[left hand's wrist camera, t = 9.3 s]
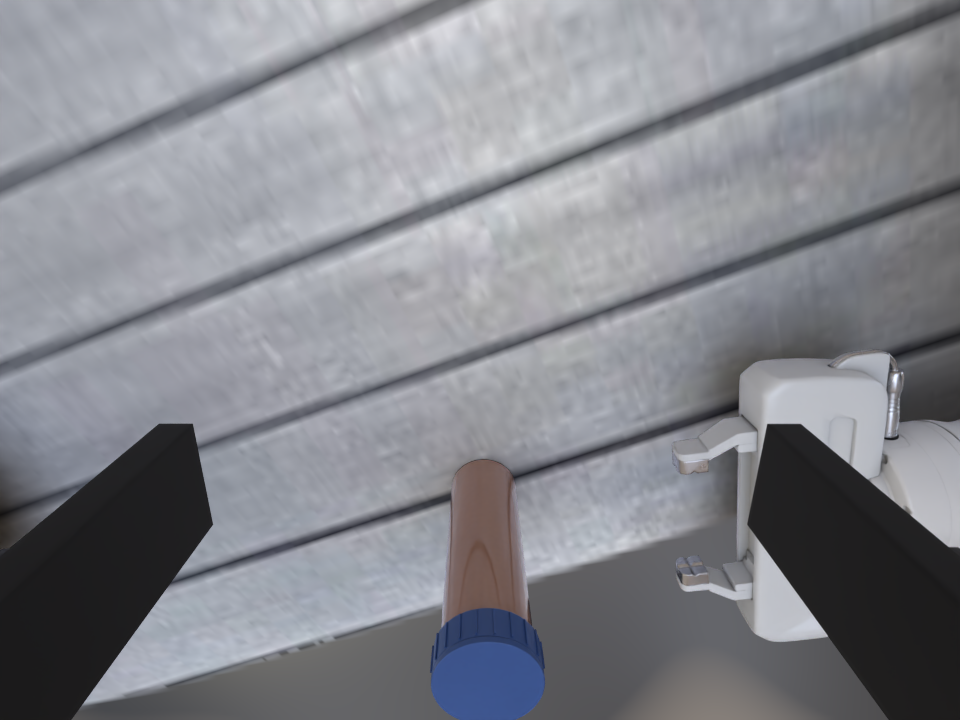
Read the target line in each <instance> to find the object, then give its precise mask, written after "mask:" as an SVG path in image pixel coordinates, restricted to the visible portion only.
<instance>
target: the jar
mask: <svg viewBox="0 0 960 720" xmlns="http://www.w3.org/2000/svg"><path fill="white" fill-rule="evenodd" d="M479 608H496V609H502V610H506V611H509V612H512V613H515V614H517V615H519V616H520V617H522V618H523V619H526V621H527V622H528V623H529V624H530V625H531V626H532V621H531V613H530V605H529V596H528V588H527V579H526V571H525V562H524V554H523V545H522V537H521V529H520V520H519V512H518V503H517V495H516V486H515V481H514V478H513V476H512V474H511V472H510V471H509V470H508V469H507V468H506V467H505V466H503V465H502V464H500V463H498V462H495V461H492V460H476V461H472V462H470V463H467V464H466V465H464V466H463V467H462V468H460V469H459V470H458V471H457V473H456V474H455V476H454V478H453V481H452V489H451V503H450V516H449V530H448V544H447V557H446V571H445V584H444V598H443V612H442V625H441V628H442V627H443V626H444V625H445V623H446V622H448V621H449V620H451V619H452V618H453V617H455V616H457V615H459V614H461V613H463V612H466V611H469V610H473V609H479Z"/></svg>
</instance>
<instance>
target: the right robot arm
mask: <svg viewBox="0 0 960 720" xmlns="http://www.w3.org/2000/svg"><path fill="white" fill-rule="evenodd" d="M904 382H905V377H904V371H903V370H902V369H899V368H898V366H897V362H896V360H895V358H894V357H893V356H892V355H891V354H889V353H887V352H885V351H883V350H877V349H869V350H861V351H854V352H848V353H844V354H842V355H840V356H838V357H836V358H835V359H834V360H833V359H818V358H788V359H773V360H762V361H757V362H755V363H753V364H752V365H751V366H750V367H748V368H747V369H746V370H745V371H744V372H743V373H741V375H740V380H739V417H732V418H725V419H722V420H721V421H719V422H718V423H716V424H715V425H713V426H712V427H711V428H709V429H708V430H706V431H705V432H704V433H702V434H701V435H699V436H698V438H695V439H688V440H681V441H675V442H673V444H672V457H673V465H674V466H676V469H677V471H678V472H679V473H680V474H685V475H687V474H691V473H693V472H696V473H703V472H708V461H710V460H712V459H713V458H715V457H717V456H719V455H720V454H722V453H724V452H726V451H728V450H729V449H731V448H733V447H734V448H735V449H736V451H737V452H738V488H737V542H736V562H732V563H724V564H723V566H722V569H723V570H719V569H715V568H712V567H708V566H705V565H703V562H702V560H701V558H700V557H699V555H697V556H689V557H688V558H684V557H681V558H678V559H677V560H676V579H677V581H678V583H679V585H680V587H681V589H682V590H684V591H687V592H691V591H699V590H709V591H711V592H713V593H716V594H719V595H721V596H724V597H727V598H729V599H732V600H736V603H737V605H738V607H739V609H740V611H741V613H742V615H743V616H744V618H745V620H746V622H747V623H748V625H749V626H750V628H751V629H752V631H753V632H754V633H755V634H756V635H758V636H760V637H762V638H764V639H767V640H769V641H775V642H785V641H797V640H806V639H814V638H822V637H828V635H827V634H826V633H825V631H824V630H823V628H822V627H821V626H820V624H819V623H818V622H817V620H816V619H815V617H814V616H813V615H812V613H811V612H810V611H809V609H808V608H807V606H806V605H805V604H804V602H803V601H802V600H801V598H800V597H799V595H798V594H797V593H796V591H795V590H794V589H793V587H792V586H791V584H790V583H789V582H788V580H787V579H786V578H785V576H784V575H783V573H782V572H781V571H780V569H779V568H778V566H777V565H776V564H775V562H774V561H773V560H772V558H771V557H770V555H769V554H768V553H767V551H766V550H765V549H764V547H763V546H762V544H761V543H760V542H759V540H758V539H757V538H756V536H755V535H754V533H753V532H752V531H751V529H750V528H749V527H748V525H747V522H748V517H749V512H750V507H751V502H752V497H753V492H754V487H755V482H756V477H757V472H758V467H759V462H760V457H761V453H762V448H763V443H764V438H765V433H766V428H767V424H802V425H803V426H804V427H805V428H806V429H808V430H809V431H810V432H811V433H812V434H814V435H815V436H816V437H817V438H818V439H820V440H821V441H822V442H823V443H824V444H826V445H827V446H828V447H829V448H830V449H832V450H833V451H834V452H835V453H836V454H838V455H839V456H840V457H841V458H842V459H844V460H845V461H846V462H847V463H848V464H850V465H851V466H852V467H853V468H854V469H856V470H857V471H858V472H859V473H860V474H862V475H863V476H864V477H865V478H866V479H868V480H869V481H870V482H871V483H872V484H874V485H875V486H876V487H877V488H878V489H880V490H881V491H882V492H883V493H884V494H886V495H887V496H888V497H889V498H890V499H892V500H893V501H894V502H895V503H896V504H898V505H899V506H900V507H901V508H902V509H904V510H905V511H906V512H907V513H908V514H910V515H911V516H912V517H913V518H914V519H916V520H917V521H918V522H919V523H920V524H922V525H923V526H924V527H925V528H926V529H928V530H929V531H930V532H931V533H932V534H934V535H935V536H936V537H937V538H938V539H940V540H941V541H942V542H943V543H944V544H946V545H947V546H948V547H958V548H960V419H959V420H956V421H953V422H942V421H936V420H915V421H906V422H899V420H900V397H901V392H902V391H903V388H904Z"/></svg>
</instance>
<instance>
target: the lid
mask: <svg viewBox="0 0 960 720" xmlns="http://www.w3.org/2000/svg"><path fill="white" fill-rule="evenodd" d="M544 668H545V665H544V658H543V650H542V643H541V642H540V641H539V638H538V635H537V632H536V629H535V630H534V628H533V627H532V626H531V625H530V624H529V623H528V622H527V621H526V619H523V618H522V617H520V616H519V615H517V614H515V613H512V612H509V611H506V610H502V609H496V608H479V609H473V610H469V611H466V612H463V613H461V614H459V615H457V616H455V617H453V618H452V619H451V620H449V621H448V622H446V623H445V625H444V626H443V627H442V628H441V630H440V631H439V633H437V634H436V639H435V644H434V646H432V657H431V668H430V673H432V676H431V689H432V693H433V696H434V698H435V700H436V702H437V703H438V704H439V706H440V707H441V708H442V709H443V710H444V711H446V712H447V713H448V714H450V715H451V716H453V717H455V718H457V719H459V720H516V719H518V718H520V717H522V716H523V715H525V714H527V713H528V712H529V711H531V710H532V709H533V708H534V707H535V706H536V705H537V703H538V702H539V700H540V699H541V697H542V695H543V691H544V687H545V677H544Z"/></svg>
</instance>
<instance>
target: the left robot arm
mask: <svg viewBox="0 0 960 720" xmlns="http://www.w3.org/2000/svg"><path fill="white" fill-rule="evenodd" d="M212 525H213V522H212V517H211V512H210V507H209V502H208V497H207V492H206V487H205V482H204V477H203V472H202V467H201V462H200V457H199V452H198V447H197V442H196V438H195V433H194V428H193V424H158V425H157V426H156V427H155V428H154V429H152V430H151V431H150V432H149V433H148V434H146V435H145V436H144V437H143V438H142V439H140V440H139V441H138V442H137V443H136V444H134V445H133V446H132V447H131V448H130V449H128V450H127V451H126V452H125V453H124V454H122V455H121V456H120V457H119V458H118V459H116V460H115V461H114V462H113V463H112V464H110V465H109V466H108V467H107V468H106V469H104V470H103V471H102V472H101V473H100V474H98V475H97V476H96V477H95V478H94V479H92V480H91V481H90V482H89V483H88V484H86V485H85V486H84V487H83V488H82V489H80V490H79V491H78V492H77V493H76V494H74V495H73V496H72V497H71V498H70V499H68V500H67V501H66V502H65V503H64V504H62V505H61V506H60V507H59V508H58V509H56V510H55V511H54V512H53V513H52V514H50V515H49V516H48V517H47V518H46V519H44V520H43V521H42V522H41V523H40V524H38V525H37V526H36V527H35V528H34V529H32V530H31V531H30V532H29V533H28V534H26V535H25V536H24V537H23V538H22V539H20V540H19V541H18V542H17V543H16V544H14V545H13V546H12V547H11V548H10V549H2V550H0V720H71V719H72V718H73V717H74V715H75V714H76V713H77V711H78V710H79V708H80V707H81V706H82V704H83V703H84V702H85V700H86V699H87V697H88V696H89V695H90V693H91V692H92V691H93V689H94V688H95V686H96V685H97V684H98V682H99V681H100V679H101V678H102V677H103V675H104V674H105V673H106V671H107V670H108V668H109V667H110V666H111V664H112V663H113V662H114V660H115V659H116V657H117V656H118V655H119V653H120V652H121V651H122V649H123V648H124V646H125V645H126V644H127V642H128V641H129V640H130V638H131V637H132V635H133V634H134V633H135V631H136V630H137V629H138V627H139V626H140V624H141V623H142V622H143V620H144V619H145V617H146V616H147V615H148V613H149V612H150V611H151V609H152V608H153V606H154V605H155V604H156V602H157V601H158V600H159V598H160V597H161V595H162V594H163V593H164V591H165V590H166V589H167V587H168V586H169V584H170V583H171V582H172V580H173V579H174V578H175V576H176V575H177V573H178V572H179V571H180V569H181V568H182V567H183V565H184V564H185V562H186V561H187V560H188V558H189V557H190V555H191V554H192V553H193V551H194V550H195V549H196V547H197V546H198V544H199V543H200V542H201V540H202V539H203V538H204V536H205V535H206V533H207V532H208V531H209V529H210V528H211V527H212ZM747 525H748V527H749V528H750V529H751V531H752V532H753V533H754V535H755V536H756V538H757V539H758V540H759V542H760V543H761V544H762V546H763V547H764V549H765V550H766V551H767V553H768V554H769V555H770V557H771V558H772V560H773V561H774V562H775V564H776V565H777V566H778V568H779V569H780V571H781V572H782V573H783V575H784V576H785V578H786V579H787V580H788V582H789V583H790V584H791V586H792V587H793V589H794V590H795V591H796V593H797V594H798V595H799V597H800V598H801V600H802V601H803V602H804V604H805V605H806V606H807V608H808V609H809V611H810V612H811V613H812V615H813V616H814V617H815V619H816V620H817V622H818V623H819V624H820V626H821V627H822V628H823V630H824V631H825V633H826V634H827V635H828V637H829V638H830V640H831V641H832V642H833V644H834V645H835V646H836V648H837V649H838V651H839V652H840V653H841V655H842V656H843V657H844V659H845V660H846V662H847V663H848V664H849V666H850V667H851V668H852V670H853V671H854V673H855V674H856V675H857V677H858V678H859V679H860V681H861V682H862V684H863V685H864V686H865V688H866V689H867V690H868V692H869V693H870V695H871V696H872V697H873V699H874V700H875V701H876V703H877V704H878V706H879V707H880V708H881V710H882V711H883V713H884V714H885V715H886V717H887V718H888V719H889V720H960V548H958V547H948V546H947V545H946V544H944V543H943V542H942V541H941V540H940V539H938V538H937V537H936V536H935V535H934V534H932V533H931V532H930V531H929V530H928V529H926V528H925V527H924V526H923V525H922V524H920V523H919V522H918V521H917V520H916V519H914V518H913V517H912V516H911V515H910V514H908V513H907V512H906V511H905V510H904V509H902V508H901V507H900V506H899V505H898V504H896V503H895V502H894V501H893V500H892V499H890V498H889V497H888V496H887V495H886V494H884V493H883V492H882V491H881V490H880V489H878V488H877V487H876V486H875V485H874V484H872V483H871V482H870V481H869V480H868V479H866V478H865V477H864V476H863V475H862V474H860V473H859V472H858V471H857V470H856V469H854V468H853V467H852V466H851V465H850V464H848V463H847V462H846V461H845V460H844V459H842V458H841V457H840V456H839V455H838V454H836V453H835V452H834V451H833V450H832V449H830V448H829V447H828V446H827V445H826V444H824V443H823V442H822V441H821V440H820V439H818V438H817V437H816V436H815V435H814V434H812V433H811V432H810V431H809V430H808V429H806V428H805V427H804V426H803V425H802V424H767V428H766V433H765V438H764V443H763V448H762V453H761V457H760V462H759V467H758V472H757V477H756V482H755V487H754V492H753V497H752V502H751V507H750V512H749V517H748V522H747Z"/></svg>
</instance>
